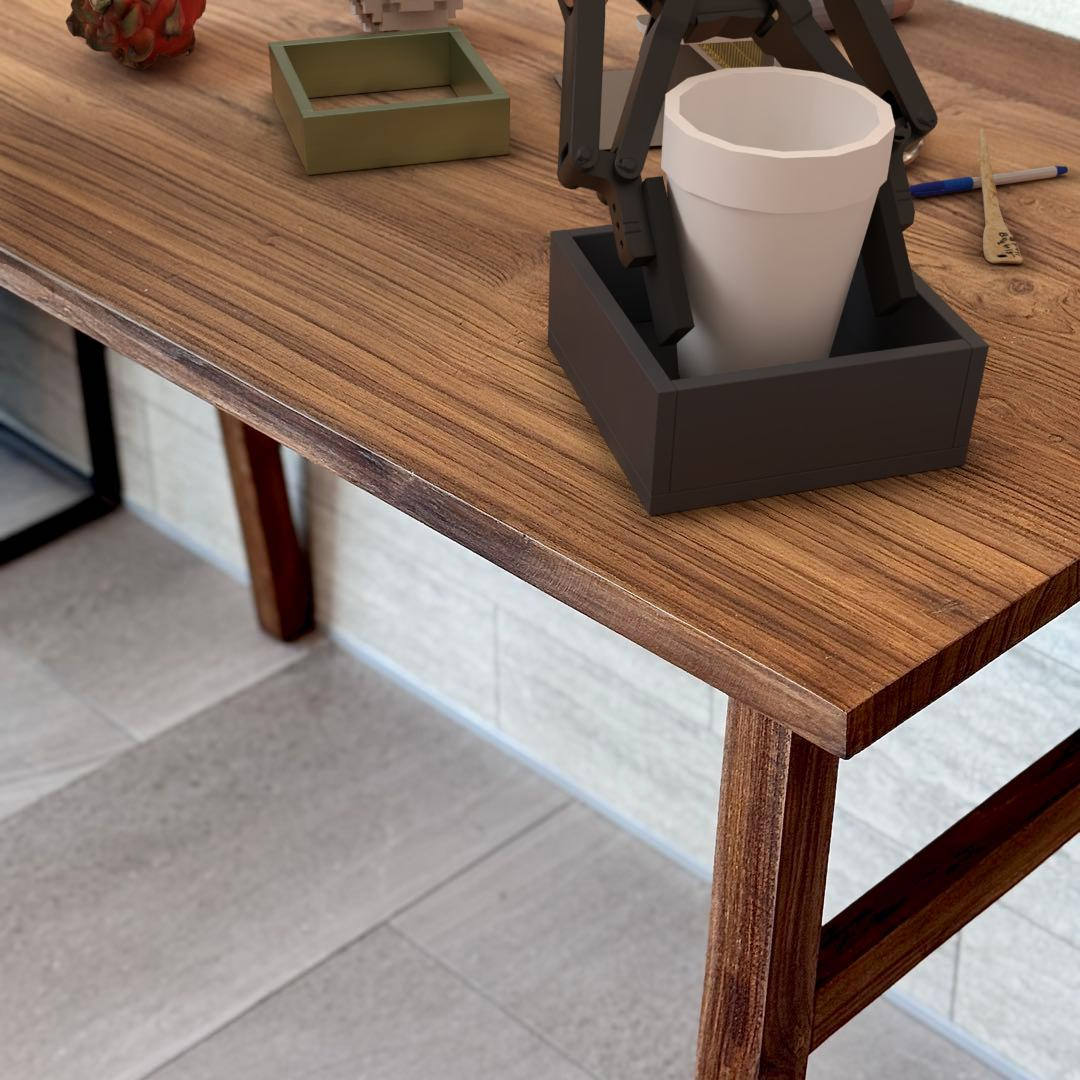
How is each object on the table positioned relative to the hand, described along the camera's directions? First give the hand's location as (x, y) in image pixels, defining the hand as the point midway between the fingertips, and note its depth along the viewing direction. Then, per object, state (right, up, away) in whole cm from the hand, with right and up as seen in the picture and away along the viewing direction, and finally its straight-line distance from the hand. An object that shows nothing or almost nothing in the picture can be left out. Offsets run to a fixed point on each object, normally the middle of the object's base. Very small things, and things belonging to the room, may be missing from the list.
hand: (788, 321), depth 71 cm
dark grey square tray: (-1, -3, +6) cm, 7 cm away
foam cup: (-1, -2, +5) cm, 6 cm away
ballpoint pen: (+15, +12, +25) cm, 32 cm away
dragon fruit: (-36, +22, +39) cm, 58 cm away
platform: (0, +18, +34) cm, 39 cm away
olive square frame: (-20, +16, +31) cm, 40 cm away
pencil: (+10, +26, +46) cm, 54 cm away
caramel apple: (-18, +27, +36) cm, 49 cm away
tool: (+16, +10, +22) cm, 29 cm away
